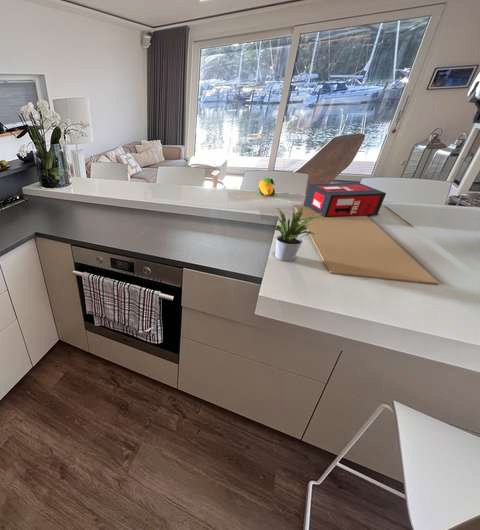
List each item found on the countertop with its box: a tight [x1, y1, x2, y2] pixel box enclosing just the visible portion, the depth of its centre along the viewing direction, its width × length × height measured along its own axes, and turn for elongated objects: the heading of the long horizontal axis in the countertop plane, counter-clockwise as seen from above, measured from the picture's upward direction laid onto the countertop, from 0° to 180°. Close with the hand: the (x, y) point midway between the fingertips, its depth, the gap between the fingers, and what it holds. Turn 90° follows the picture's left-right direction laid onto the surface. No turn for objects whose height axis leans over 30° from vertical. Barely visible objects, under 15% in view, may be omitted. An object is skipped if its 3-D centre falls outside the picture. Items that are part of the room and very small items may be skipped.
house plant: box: [270, 206, 324, 262], centre depth 85 cm, size 14×14×16 cm
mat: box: [294, 205, 440, 285], centre depth 101 cm, size 24×58×1 cm, turn 161°
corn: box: [258, 177, 276, 197], centre depth 144 cm, size 7×8×20 cm
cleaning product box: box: [303, 182, 387, 217], centre depth 119 cm, size 16×9×20 cm
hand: (479, 122), depth 92 cm, fingers closed
